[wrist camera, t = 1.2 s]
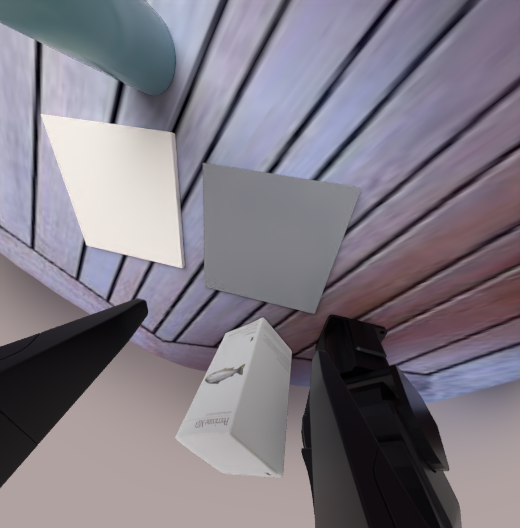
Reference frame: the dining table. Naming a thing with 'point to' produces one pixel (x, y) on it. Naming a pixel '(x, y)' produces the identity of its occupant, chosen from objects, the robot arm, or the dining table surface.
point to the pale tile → (121, 186)
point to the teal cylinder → (101, 36)
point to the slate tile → (272, 234)
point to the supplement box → (242, 404)
